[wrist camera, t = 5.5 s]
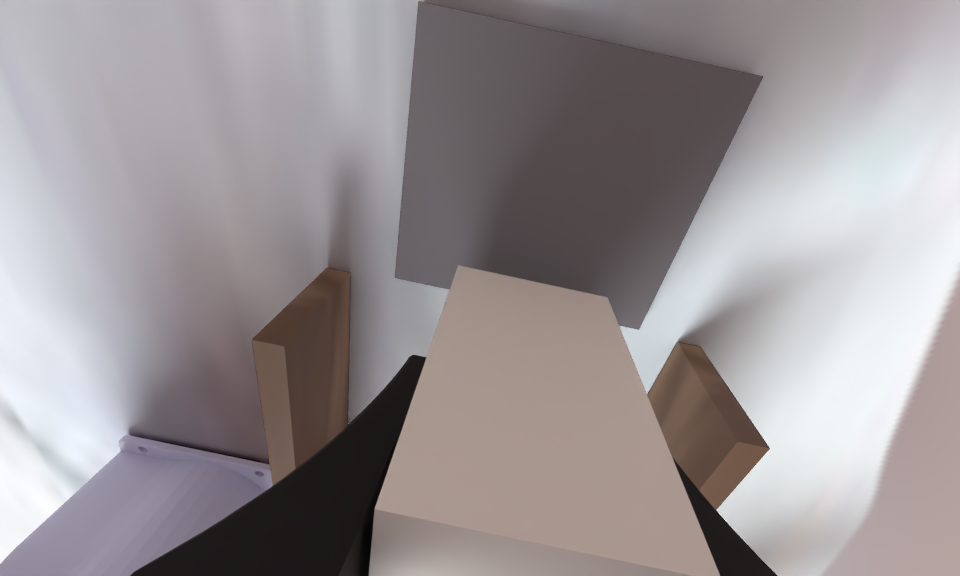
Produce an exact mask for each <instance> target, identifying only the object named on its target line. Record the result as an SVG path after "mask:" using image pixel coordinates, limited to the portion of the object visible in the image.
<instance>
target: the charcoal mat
mask: <svg viewBox="0 0 960 576" xmlns="http://www.w3.org/2000/svg"><path fill="white" fill-rule="evenodd" d="M762 78H763V76H759V75H754V74H750V73H745V72H741V71H736V70H732V69H727V68H722V67H718V66H713V65H709V64H704V63H699V62H695V61H690V60H686V59H681V58H677V57H672V56H667V55H663V54H658V53H654V52H649V51H644V50H640V49H635V48H631V47H626V46H622V45H617V44H612V43H608V42H603V41H599V40H594V39H589V38H585V37H580V36H576V35H571V34H567V33H562V32H557V31H553V30H548V29H544V28H539V27H534V26H530V25H525V24H521V23H516V22H512V21H507V20H502V19H498V18H493V17H489V16H484V15H479V14H475V13H470V12H466V11H461V10H457V9H452V8H447V7H443V6H438V5H434V4H429V3H424V2H420V1H418V13H417V24H416V36H415V48H414V59H413V71H412V83H411V95H410V106H409V118H408V130H407V141H406V153H405V165H404V177H403V188H402V200H401V212H400V223H399V235H398V247H397V259H396V270H395V278H398V279H403V280H407V281H412V282H417V283H422V284H426V285H431V286H436V287H441V288H445V289H450V288H451V285H452V282H453V279H454V276H455V273H456V270H457V267H458V265H460V266H464V267H469V268H474V269H478V270H483V271H488V272H492V273H497V274H501V275H506V276H511V277H515V278H520V279H525V280H529V281H534V282H539V283H543V284H548V285H552V286H557V287H562V288H566V289H571V290H576V291H580V292H585V293H590V294H594V295H599V296H604V297H608V300H609V302H610V305H611V307H612V310H613V312H614V315H615V317H616V320H617V322H618V325H620V326H625V327H629V328H634V329H639V328H640V326H641V324H642V322H643V320H644V318H645V316H646V314H647V312H648V310H649V308H650V306H651V304H652V302H653V300H654V298H655V296H656V294H657V292H658V290H659V288H660V286H661V284H662V282H663V280H664V278H665V275H666V273H667V271H668V269H669V267H670V265H671V263H672V261H673V259H674V257H675V255H676V253H677V251H678V249H679V247H680V245H681V243H682V241H683V239H684V237H685V235H686V233H687V231H688V229H689V227H690V225H691V223H692V221H693V218H694V216H695V214H696V212H697V210H698V208H699V206H700V204H701V202H702V200H703V198H704V196H705V194H706V192H707V190H708V188H709V186H710V184H711V182H712V180H713V178H714V176H715V174H716V172H717V170H718V168H719V166H720V163H721V161H722V159H723V157H724V155H725V153H726V151H727V149H728V147H729V145H730V143H731V141H732V139H733V137H734V135H735V133H736V131H737V129H738V127H739V125H740V123H741V121H742V119H743V117H744V115H745V113H746V111H747V109H748V106H749V104H750V102H751V100H752V98H753V96H754V94H755V92H756V90H757V88H758V86H759V84H760V82H761V80H762Z"/></svg>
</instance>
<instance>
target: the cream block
mask: <svg viewBox="0 0 960 576" xmlns="http://www.w3.org/2000/svg"><path fill="white" fill-rule="evenodd" d="M369 576H720V574H719V572H718V569H717V567H716V564H715V562H714V559H713V557H712V554H711V552H710V549H709V547H708V544H707V542H706V540H705V537H704V535H703V532H702V530H701V527H700V525H699V522H698V520H697V517H696V515H695V512H694V510H693V507H692V505H691V502H690V500H689V498H688V495H687V493H686V490H685V488H684V485H683V483H682V480H681V478H680V475H679V473H678V470H677V468H676V465H675V463H674V460H673V458H672V455H671V453H670V451H669V448H668V446H667V443H666V441H665V438H664V436H663V433H662V431H661V428H660V426H659V423H658V421H657V418H656V416H655V413H654V411H653V409H652V406H651V404H650V401H649V399H648V396H647V394H646V391H645V389H644V386H643V384H642V381H641V379H640V376H639V374H638V371H637V369H636V367H635V364H634V362H633V359H632V357H631V354H630V352H629V349H628V347H627V344H626V342H625V339H624V337H623V334H622V332H621V329H620V327H619V325H618V322H617V320H616V317H615V315H614V312H613V310H612V307H611V305H610V302H609V300H608V297H604V296H599V295H594V294H590V293H585V292H580V291H576V290H571V289H566V288H562V287H557V286H552V285H548V284H543V283H539V282H534V281H529V280H525V279H520V278H515V277H511V276H506V275H501V274H497V273H492V272H488V271H483V270H478V269H474V268H469V267H464V266H460V265H458V267H457V270H456V273H455V276H454V279H453V282H452V285H451V288H450V291H449V294H448V296H447V299H446V302H445V305H444V308H443V311H442V314H441V317H440V320H439V323H438V326H437V328H436V331H435V334H434V337H433V340H432V343H431V346H430V349H429V352H428V355H427V358H426V361H425V363H424V366H423V369H422V372H421V375H420V378H419V381H418V384H417V387H416V390H415V393H414V395H413V398H412V401H411V404H410V407H409V410H408V413H407V416H406V419H405V422H404V425H403V428H402V430H401V433H400V436H399V439H398V442H397V445H396V448H395V451H394V454H393V457H392V460H391V463H390V465H389V468H388V471H387V474H386V477H385V480H384V483H383V486H382V489H381V492H380V495H379V497H378V500H377V503H376V506H375V509H374V521H373V532H372V543H371V554H370V566H369Z"/></svg>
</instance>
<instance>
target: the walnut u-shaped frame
mask: <svg viewBox="0 0 960 576" xmlns="http://www.w3.org/2000/svg"><path fill="white" fill-rule="evenodd" d="M349 327H350V273H349V272H344V271H340V270H335V269H330V268H326V269H325V270H324V271H323V272H322V273H321V274H320V275H319V276H318V277H317V278H316V279H315V280H314V281H313V282H312V283H311V284H309V285H308V286H307V287H306V288H305V289H304V290H303V291H302V292H301V293H300V294H299V295H298V296H297V297H296V298H295V299H294V300H293V301H292V302H291V303H290V304H289V305H287V306H286V307H285V308H284V309H283V310H282V311H281V312H280V313H279V314H278V315H277V316H276V317H275V318H274V319H273V320H272V321H271V322H270V323H269V324H268V325H267V326H265V327H264V328H263V329H262V330H261V331H260V332H259V333H258V334H257V335H256V336H255V337H254V338H253V339H252V345H253V352H254V359H255V366H256V373H257V380H258V387H259V394H260V401H261V408H262V415H263V422H264V429H265V436H266V443H267V450H268V457H269V464H270V471H271V478H272V485H274V484H276V483H277V482H279V481H280V480H281V479H283V478H284V477H285V476H287V475H288V474H289V473H291V472H292V471H293V470H295V469H296V468H297V467H299V466H300V465H301V464H303V463H304V462H305V461H307V460H308V459H309V458H310V457H312V456H313V455H314V454H315V453H317V452H318V451H319V450H320V449H321V448H323V447H324V446H325V445H326V444H327V443H329V442H330V441H331V440H332V439H333V438H334V437H336V436H337V435H338V434H339V433H340V432H341V431H342V430H343V429H344V428H345V427H347V426H348V381H349ZM647 396H648V399H649V401H650V404H651V406H652V409H653V411H654V413H655V416H656V418H657V421H658V423H659V426H660V428H661V431H662V433H663V436H664V438H665V441H666V443H667V446H668V448H669V451H670V453H671V455H672V457H673V458H674V459H675V461H676V462H677V463H678V465H679V466H680V467H681V468H682V470H683V471H684V472H685V474H686V475H687V476H688V477H689V479H690V480H691V481H692V482H693V483H694V485H695V486H696V487H697V488H698V490H699V491H700V492H701V493H702V494H703V496H704V497H705V498H706V499H707V500H708V501H709V503H710V504H711V505H712V506H713V507H714V509H715V510H716V509H717V508H718V507H719V506H720V505H721V504H722V503H723V501H724V500H725V499H726V498H727V497H728V496H729V495H730V493H731V492H732V491H733V490H734V489H735V488H736V487H737V485H738V484H739V483H740V482H741V481H742V480H743V479H744V477H745V476H746V475H747V474H748V473H749V472H750V471H751V469H752V468H753V467H754V466H755V465H756V464H757V463H758V461H759V460H760V459H761V458H762V457H763V456H764V455H765V453H766V452H767V451H768V450H769V449H770V448H769V446H768V445H767V443H766V442H765V441H764V439H763V438H762V436H761V435H760V433H759V432H758V430H757V429H756V427H755V426H754V424H753V423H752V422H751V420H750V419H749V417H748V416H747V414H746V413H745V411H744V410H743V408H742V407H741V405H740V404H739V403H738V401H737V400H736V398H735V397H734V395H733V394H732V392H731V391H730V389H729V388H728V386H727V385H726V383H725V382H724V381H723V379H722V378H721V376H720V375H719V373H718V372H717V370H716V369H715V367H714V366H713V364H712V363H711V362H710V360H709V359H708V357H707V356H706V354H705V353H704V351H703V350H702V348H701V347H698V346H694V345H689V344H684V343H679V342H677V344H676V345H675V347H674V349H673V351H672V352H671V354H670V356H669V358H668V360H667V361H666V363H665V365H664V367H663V368H662V370H661V372H660V374H659V375H658V377H657V379H656V381H655V383H654V384H653V386H652V388H651V390H650V391H649V393H648V395H647Z"/></svg>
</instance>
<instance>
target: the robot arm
mask: <svg viewBox="0 0 960 576" xmlns="http://www.w3.org/2000/svg"><path fill="white" fill-rule="evenodd" d="M426 358H427V357H422V356H417V355H412V356H410V357H409V358H408V360H407V361H406V363H405V364H404V365H403V367H402V368H401V369H400V371H399V372H398V373H397V374H396V376H395V377H394V378H393V379H392V380H391V381H390V383H389V384H388V385H387V386H386V387H385V388H384V389H383V390H382V392H381V393H380V394H379V395H378V396H377V397H376V398H375V399H374V400H373V401H372V402H371V403H370V404H369V405H368V406H367V407H366V408H365V409H364V410H363V411H362V412H361V413H360V414H359V415H358V416H357V417H356V418H355V419H354V420H353V421H352V422H351V423H350V424H349V425H348V426H347V427H345V428H344V429H343V430H342V431H341V432H340V433H339V434H338V435H337V436H336V437H334V438H333V439H332V440H331V441H330V442H329V443H327V444H326V445H325V446H324V447H323V448H321V449H320V450H319V451H318V452H317V453H315V454H314V455H313V456H312V457H310V458H309V459H308V460H307V461H305V462H304V463H303V464H301V465H300V466H299V467H297V468H296V469H295V470H293V471H292V472H291V473H289V474H288V475H287V476H285V477H284V478H283V479H281V480H280V481H279V482H277V483H276V484H274V485H272V478H271V471H270V464H265V463H260V462H255V461H250V460H246V459H241V458H236V457H231V456H226V455H221V454H217V453H212V452H207V451H202V450H197V449H192V448H188V447H183V446H178V445H173V444H168V443H164V442H159V441H154V440H149V439H144V438H139V437H135V436H129V435H126V436H124V437H123V438H121V439H120V440H119V442H118V444H119V447H120V449H121V452H119V453H118V454H117V455H116V456H115V457H114V458H113V459H112V460H111V461H110V462H109V463H108V464H106V465H105V466H104V467H103V468H102V469H101V470H100V471H99V472H98V473H97V474H96V475H94V476H93V477H92V478H91V479H90V480H89V481H88V482H87V483H86V484H85V485H84V486H83V487H81V488H80V489H79V490H78V491H77V492H76V493H75V494H74V495H73V496H72V497H71V498H70V499H68V500H67V501H66V502H65V503H64V504H63V505H62V506H61V507H60V508H59V509H58V510H56V511H55V512H54V513H53V514H52V515H51V516H50V517H49V518H48V519H47V520H46V521H45V522H43V523H42V524H41V525H40V526H39V527H38V528H37V529H36V530H35V531H34V532H33V533H32V534H30V535H29V536H28V537H27V538H26V539H25V540H24V541H23V542H22V543H21V544H20V545H18V546H17V547H16V548H15V549H14V550H13V551H12V552H11V553H10V554H9V555H8V556H7V557H6V558H5V560H4V561H3V562H2V563H1V564H0V576H369V566H370V554H371V543H372V532H373V521H374V509H375V506H376V503H377V500H378V497H379V495H380V492H381V489H382V486H383V483H384V480H385V477H386V474H387V471H388V468H389V465H390V463H391V460H392V457H393V454H394V451H395V448H396V445H397V442H398V439H399V436H400V433H401V430H402V428H403V425H404V422H405V419H406V416H407V413H408V410H409V407H410V404H411V401H412V398H413V395H414V393H415V390H416V387H417V384H418V381H419V378H420V375H421V372H422V369H423V366H424V363H425V361H426ZM672 458H673V457H672ZM673 460H674V463H675V465H676V468H677V470H678V473H679V475H680V478H681V480H682V483H683V485H684V488H685V490H686V493H687V495H688V498H689V500H690V502H691V505H692V507H693V510H694V512H695V515H696V517H697V520H698V522H699V525H700V527H701V530H702V532H703V535H704V537H705V540H706V542H707V544H708V547H709V549H710V552H711V554H712V557H713V559H714V562H715V564H716V567H717V569H718V572H719V574H720V576H777V575H776V574H775V573H774V572H773V571H772V570H771V569H770V568H769V567H768V566H767V565H766V564H765V563H764V562H763V561H762V560H761V559H760V558H759V557H758V556H757V555H756V553H755V552H754V551H753V550H752V549H751V548H750V547H749V546H748V545H747V544H746V543H745V542H744V541H743V540H742V539H741V538H740V536H739V535H738V534H737V533H736V532H735V531H734V530H733V529H732V528H731V527H730V526H729V525H728V523H727V522H726V521H725V520H724V519H723V518H722V517H721V516H720V514H719V513H718V512H717V511H716V510H715V509H714V507H713V506H712V505H711V504H710V503H709V501H708V500H707V499H706V498H705V497H704V496H703V494H702V493H701V492H700V491H699V490H698V488H697V487H696V486H695V485H694V483H693V482H692V481H691V480H690V479H689V477H688V476H687V475H686V474H685V472H684V471H683V470H682V468H681V467H680V466H679V465H678V463H677V462H676V461H675V459H674V458H673Z"/></svg>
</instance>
